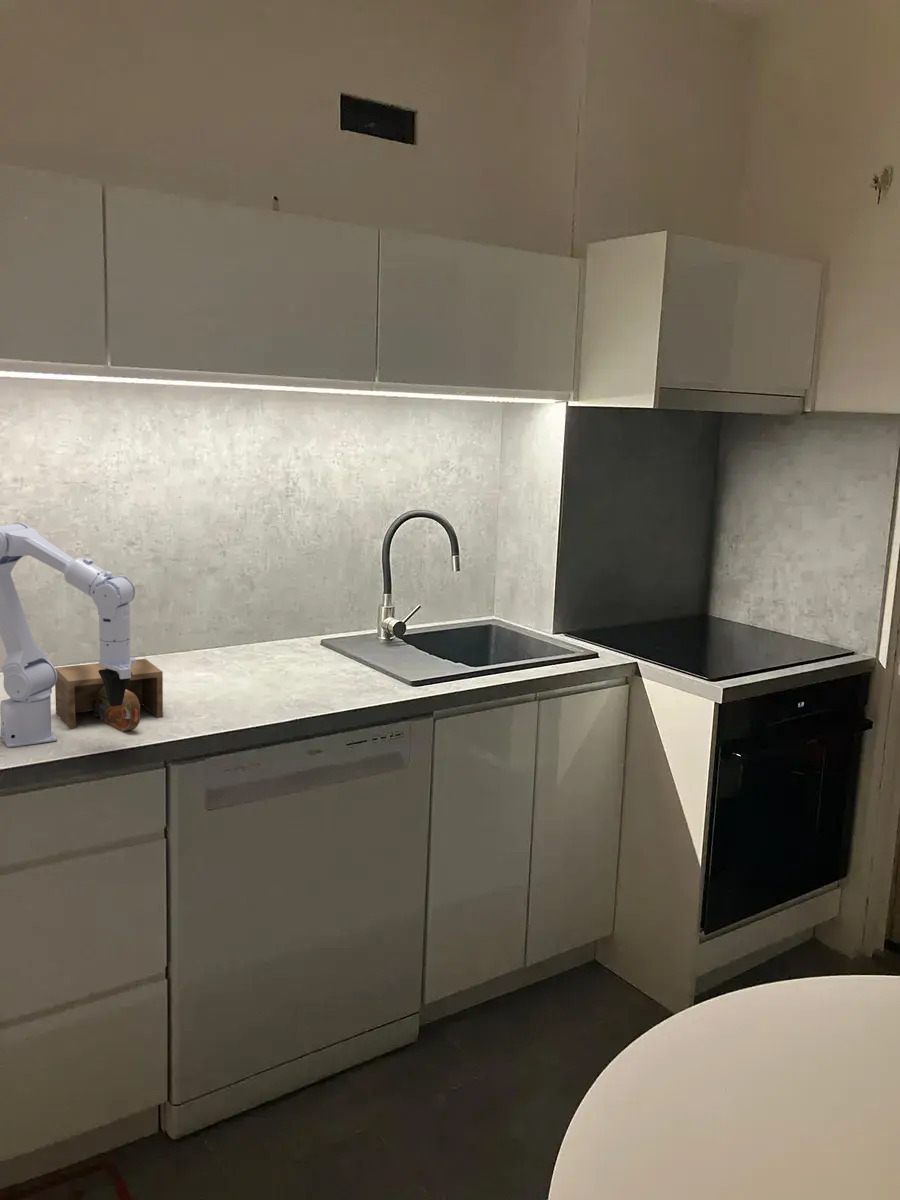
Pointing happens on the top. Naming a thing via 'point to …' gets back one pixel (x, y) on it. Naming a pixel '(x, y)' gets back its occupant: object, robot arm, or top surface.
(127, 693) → the tin
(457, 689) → the top surface
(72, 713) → the shelf
